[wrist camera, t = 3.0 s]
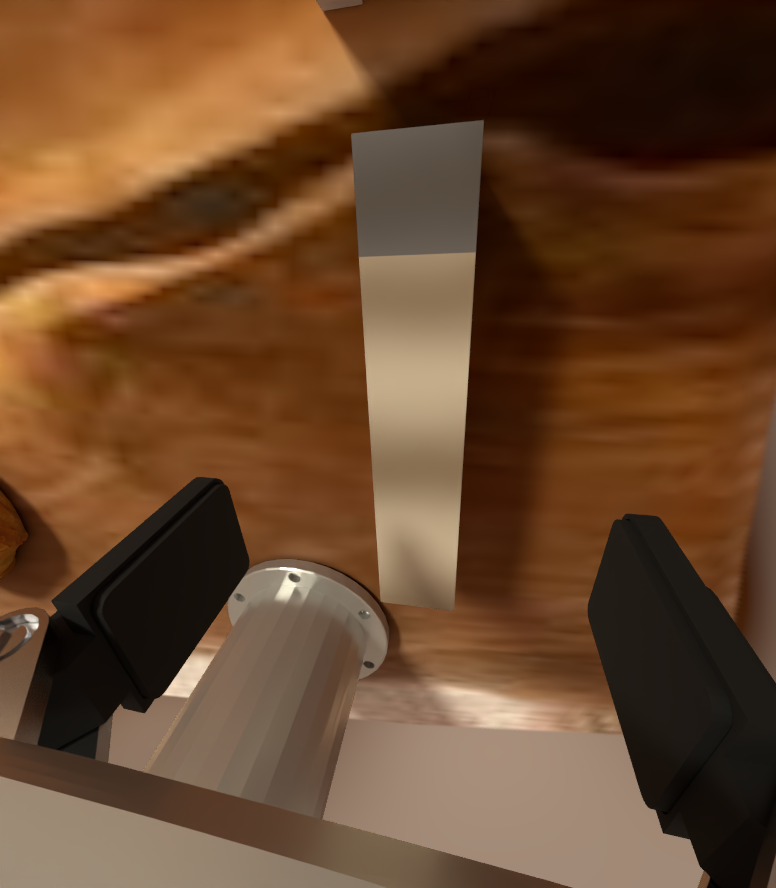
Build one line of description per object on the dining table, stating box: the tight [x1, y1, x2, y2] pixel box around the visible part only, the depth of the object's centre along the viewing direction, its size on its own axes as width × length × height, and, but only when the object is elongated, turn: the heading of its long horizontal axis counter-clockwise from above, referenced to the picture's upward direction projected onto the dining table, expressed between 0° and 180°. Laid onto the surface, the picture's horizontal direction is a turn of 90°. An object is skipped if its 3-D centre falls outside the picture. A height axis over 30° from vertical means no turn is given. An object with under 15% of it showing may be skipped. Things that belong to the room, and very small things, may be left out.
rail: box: [351, 120, 484, 611], centre depth 17 cm, size 18×4×6 cm, turn 2°
